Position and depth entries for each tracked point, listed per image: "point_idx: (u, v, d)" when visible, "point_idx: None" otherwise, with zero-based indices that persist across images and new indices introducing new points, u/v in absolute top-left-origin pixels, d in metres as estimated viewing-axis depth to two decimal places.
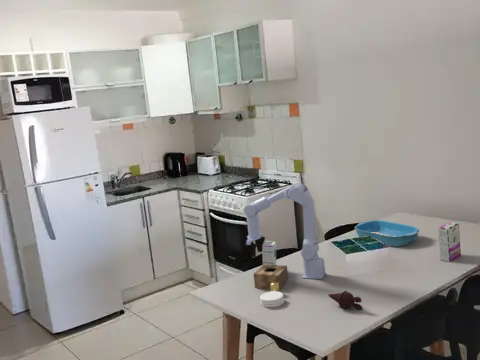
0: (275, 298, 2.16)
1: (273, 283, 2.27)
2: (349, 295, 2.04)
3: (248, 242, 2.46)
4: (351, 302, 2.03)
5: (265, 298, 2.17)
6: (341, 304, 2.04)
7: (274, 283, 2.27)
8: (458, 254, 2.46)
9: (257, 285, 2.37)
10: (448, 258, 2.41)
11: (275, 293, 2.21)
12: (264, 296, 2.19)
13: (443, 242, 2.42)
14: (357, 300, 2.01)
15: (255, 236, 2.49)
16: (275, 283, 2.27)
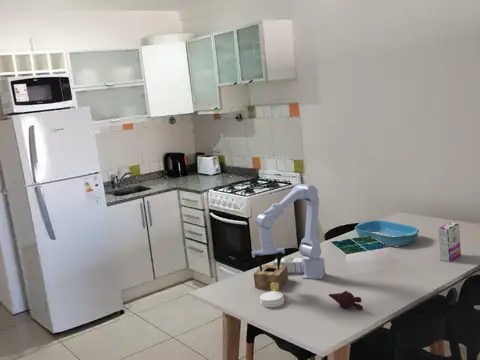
0: (275, 298, 2.16)
1: (273, 283, 2.27)
2: (349, 295, 2.04)
3: None
4: (351, 302, 2.03)
5: (265, 298, 2.17)
6: (341, 304, 2.04)
7: (274, 283, 2.27)
8: (458, 254, 2.46)
9: (257, 285, 2.37)
10: (448, 258, 2.41)
11: (275, 293, 2.21)
12: (264, 296, 2.19)
13: (443, 242, 2.42)
14: (357, 300, 2.01)
15: (262, 250, 2.28)
16: (275, 283, 2.27)
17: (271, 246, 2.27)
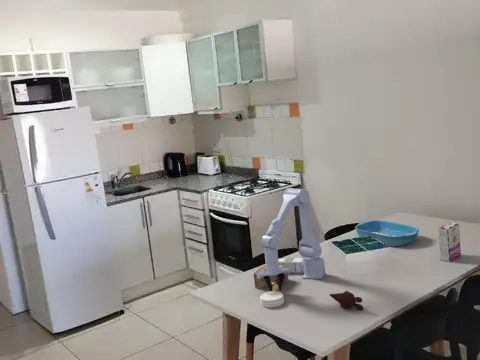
0: (275, 298, 2.16)
1: (273, 283, 2.27)
2: (350, 295, 2.04)
3: (257, 276, 2.25)
4: (352, 302, 2.03)
5: (265, 298, 2.17)
6: (342, 304, 2.04)
7: (274, 283, 2.27)
8: (458, 254, 2.46)
9: (257, 285, 2.37)
10: (448, 258, 2.41)
11: (275, 293, 2.21)
12: (264, 296, 2.19)
13: (443, 242, 2.42)
14: (358, 300, 2.01)
15: (268, 271, 2.24)
16: (275, 283, 2.27)
17: (277, 267, 2.24)
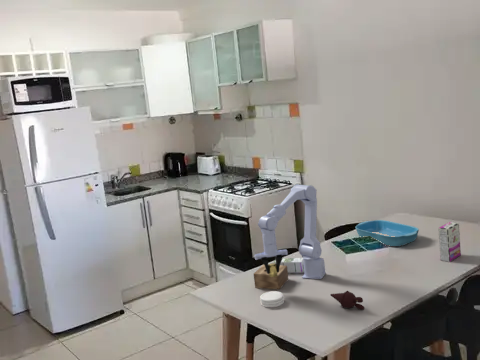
0: (275, 298, 2.16)
1: (271, 265, 2.27)
2: (351, 295, 2.04)
3: None
4: (353, 302, 2.03)
5: (265, 298, 2.17)
6: (343, 304, 2.04)
7: (272, 265, 2.27)
8: (458, 254, 2.46)
9: (257, 285, 2.37)
10: (448, 258, 2.41)
11: (275, 293, 2.21)
12: (264, 296, 2.19)
13: (442, 242, 2.42)
14: (359, 300, 2.01)
15: (266, 252, 2.25)
16: (273, 265, 2.27)
17: (275, 248, 2.24)
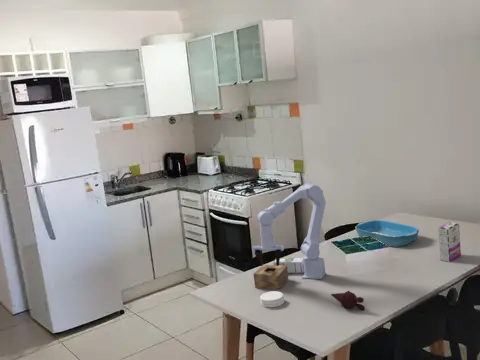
0: (275, 298, 2.16)
1: None
2: (352, 295, 2.04)
3: None
4: (354, 302, 2.02)
5: (265, 298, 2.17)
6: (344, 304, 2.04)
7: None
8: (458, 254, 2.46)
9: (257, 285, 2.37)
10: (448, 258, 2.41)
11: (276, 293, 2.21)
12: (264, 296, 2.19)
13: (443, 242, 2.42)
14: (359, 300, 2.01)
15: (261, 246, 2.37)
16: None
17: (269, 243, 2.34)
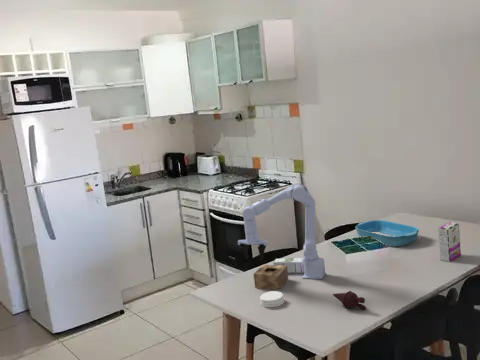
0: (275, 298, 2.16)
1: None
2: (353, 295, 2.03)
3: None
4: (355, 302, 2.02)
5: (265, 298, 2.17)
6: (345, 304, 2.04)
7: None
8: (458, 254, 2.46)
9: (257, 285, 2.37)
10: (448, 258, 2.41)
11: (275, 293, 2.21)
12: (264, 296, 2.19)
13: (443, 242, 2.42)
14: (361, 300, 2.01)
15: (246, 240, 2.43)
16: None
17: (253, 237, 2.41)
